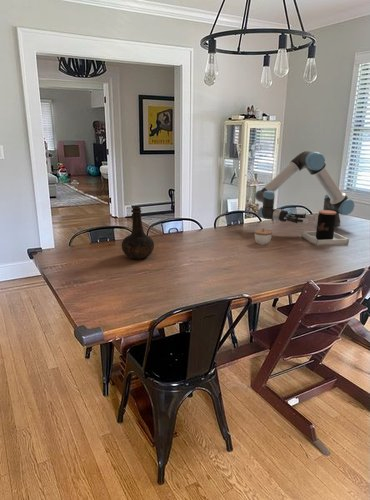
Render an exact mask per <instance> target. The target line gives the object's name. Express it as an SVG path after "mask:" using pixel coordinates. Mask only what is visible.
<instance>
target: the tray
mask: <svg viewBox="0 0 370 500" xmlns="http://www.w3.org/2000/svg"><path fill="white" fill-rule="evenodd" d="M316 231H317V230H316ZM316 231H314V230H313V231H302V232H301V238H303V239H304V240H307V241H308V242H310V243H311V244H312V245H314V246H316V247H319V246H321V247H323V246H345V245H346V246H347V245H349V242H350V239H349V238H348V237H345V236H343V235H341V234H339V233H337V232H335V231H334V236H333V239H328V240H318V239H317V238H316Z"/></svg>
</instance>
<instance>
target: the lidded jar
mask: <svg viewBox="0 0 370 500" xmlns="http://www.w3.org/2000/svg"><path fill="white" fill-rule="evenodd" d="M272 236H273V231H272V230H269V229H265V228H262V229H255V230H254V240H255V241H256V243H257V244H258V245H263V246H264V245H265V246H267V245H268V244H269V242H271V240H272Z"/></svg>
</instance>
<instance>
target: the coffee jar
mask: <svg viewBox="0 0 370 500" xmlns="http://www.w3.org/2000/svg"><path fill="white" fill-rule="evenodd" d="M335 220H336V212H335V211H330V210H323V209H321V210H319V211H318V216H317V221H316V223H317V224H316V238H317V239H318V240H328V239H333V236H334V232H335V228H336V226H335Z"/></svg>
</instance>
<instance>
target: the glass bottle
mask: <svg viewBox="0 0 370 500" xmlns="http://www.w3.org/2000/svg"><path fill="white" fill-rule="evenodd" d="M131 209H132V210H131V211H130V212H131V213H132V227H131V228H132V229H131V234H129V235H127V236H126V237H124V238H123V240H122V242H121V250H122V252H123V253H124V254H125V256H126V257H128V258H129V259H132V258H133V260H141V259H142V258H143V259H146V258H147V257H149V256H151V254H152V253H153V251H154V249H155V243H154V240H153V239H152V237H151V236H149V235H147V234H146V233H145V231H144V227H143V222H142V214H141V213H142V210H141V209H142V207H141V206H132V208H131ZM143 259H142V260H143Z"/></svg>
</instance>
